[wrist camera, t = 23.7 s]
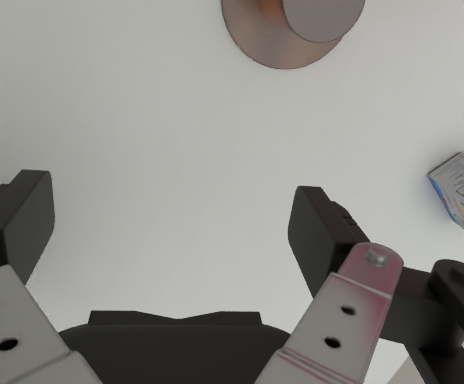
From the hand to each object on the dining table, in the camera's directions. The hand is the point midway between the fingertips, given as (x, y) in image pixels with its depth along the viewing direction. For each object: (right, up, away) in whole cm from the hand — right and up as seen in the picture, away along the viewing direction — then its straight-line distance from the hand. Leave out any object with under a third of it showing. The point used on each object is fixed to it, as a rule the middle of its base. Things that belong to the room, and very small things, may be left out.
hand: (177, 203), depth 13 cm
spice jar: (+7, +17, +21) cm, 28 cm away
